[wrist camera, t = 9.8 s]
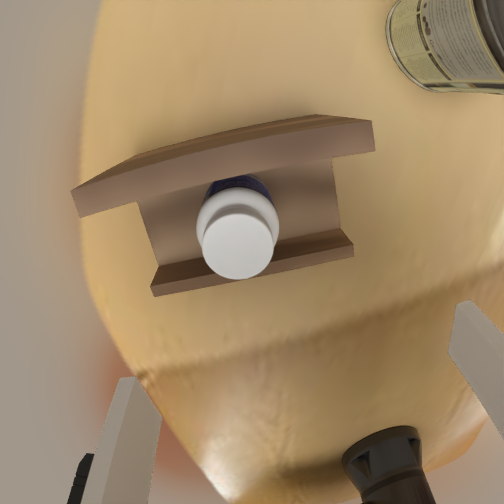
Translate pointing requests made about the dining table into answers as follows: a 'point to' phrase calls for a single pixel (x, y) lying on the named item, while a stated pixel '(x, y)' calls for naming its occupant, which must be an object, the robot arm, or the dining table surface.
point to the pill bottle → (237, 226)
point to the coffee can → (449, 44)
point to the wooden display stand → (230, 165)
